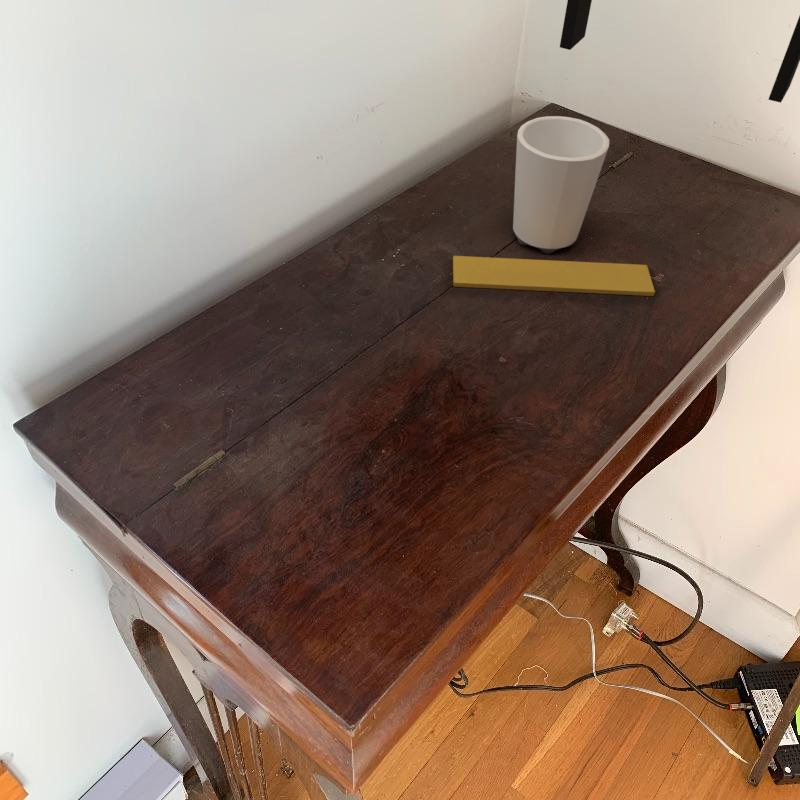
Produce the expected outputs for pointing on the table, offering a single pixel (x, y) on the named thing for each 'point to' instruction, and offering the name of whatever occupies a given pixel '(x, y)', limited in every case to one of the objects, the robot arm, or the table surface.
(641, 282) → the yellow plank
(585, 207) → the cup
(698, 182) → the table surface
